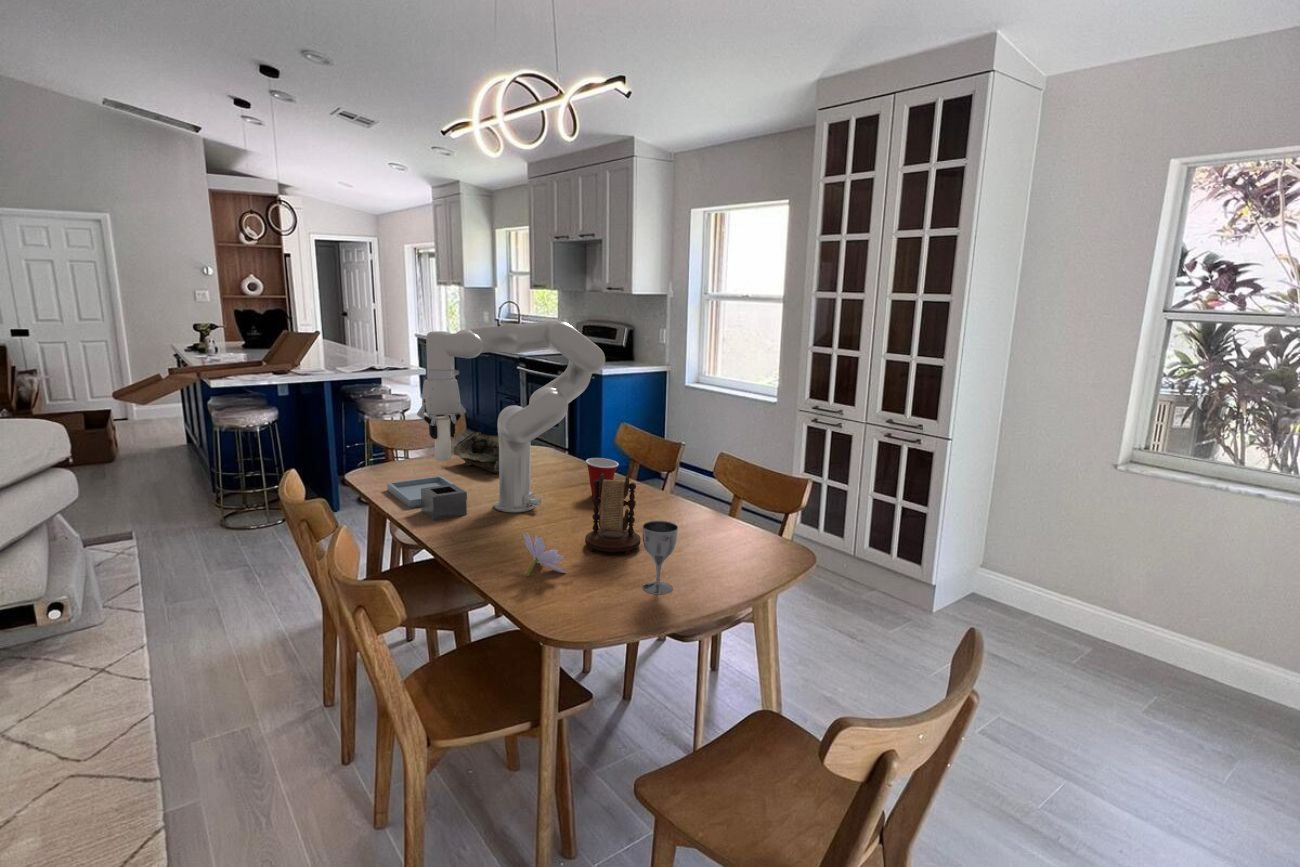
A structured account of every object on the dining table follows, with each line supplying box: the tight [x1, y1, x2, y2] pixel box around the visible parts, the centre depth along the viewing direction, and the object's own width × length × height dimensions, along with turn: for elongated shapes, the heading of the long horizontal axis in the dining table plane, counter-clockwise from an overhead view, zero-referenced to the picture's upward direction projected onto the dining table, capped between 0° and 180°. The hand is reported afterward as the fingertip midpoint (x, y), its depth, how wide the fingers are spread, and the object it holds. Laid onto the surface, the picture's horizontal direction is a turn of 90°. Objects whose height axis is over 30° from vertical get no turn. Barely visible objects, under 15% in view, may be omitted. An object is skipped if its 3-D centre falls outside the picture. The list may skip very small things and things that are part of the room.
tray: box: [386, 475, 468, 509], centre depth 222 cm, size 22×18×2 cm
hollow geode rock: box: [452, 431, 499, 475], centre depth 256 cm, size 28×13×15 cm
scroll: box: [584, 473, 642, 556], centre depth 182 cm, size 15×15×20 cm
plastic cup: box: [585, 457, 619, 499], centre depth 227 cm, size 11×11×12 cm
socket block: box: [420, 483, 468, 521], centre depth 205 cm, size 10×10×7 cm
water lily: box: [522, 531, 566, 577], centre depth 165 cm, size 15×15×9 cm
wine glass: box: [641, 520, 679, 595], centre depth 158 cm, size 8×8×15 cm
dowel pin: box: [434, 416, 452, 462], centre depth 201 cm, size 4×4×12 cm
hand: (442, 436), depth 201 cm, fingers closed on dowel pin, 4 cm apart
